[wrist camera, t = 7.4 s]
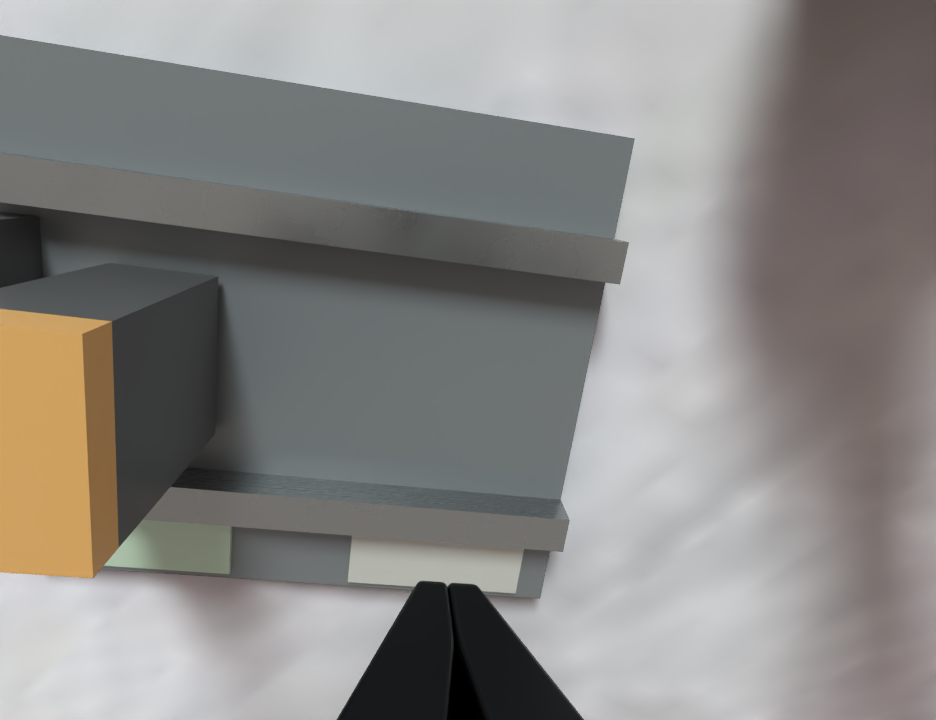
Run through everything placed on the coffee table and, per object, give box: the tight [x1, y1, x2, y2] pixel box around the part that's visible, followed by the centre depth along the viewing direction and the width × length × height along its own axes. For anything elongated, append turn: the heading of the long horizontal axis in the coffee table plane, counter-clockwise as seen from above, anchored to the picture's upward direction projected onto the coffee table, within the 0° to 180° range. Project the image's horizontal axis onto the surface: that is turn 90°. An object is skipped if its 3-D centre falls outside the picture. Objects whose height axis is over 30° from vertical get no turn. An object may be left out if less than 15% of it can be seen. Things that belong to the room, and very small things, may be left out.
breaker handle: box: [0, 263, 218, 578], centre depth 14 cm, size 3×5×7 cm, turn 172°
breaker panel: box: [0, 35, 634, 598], centre depth 18 cm, size 18×16×3 cm
